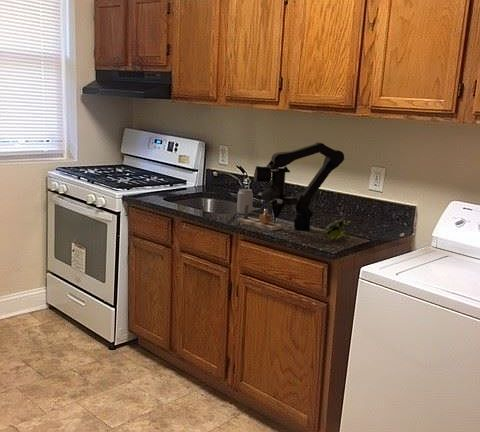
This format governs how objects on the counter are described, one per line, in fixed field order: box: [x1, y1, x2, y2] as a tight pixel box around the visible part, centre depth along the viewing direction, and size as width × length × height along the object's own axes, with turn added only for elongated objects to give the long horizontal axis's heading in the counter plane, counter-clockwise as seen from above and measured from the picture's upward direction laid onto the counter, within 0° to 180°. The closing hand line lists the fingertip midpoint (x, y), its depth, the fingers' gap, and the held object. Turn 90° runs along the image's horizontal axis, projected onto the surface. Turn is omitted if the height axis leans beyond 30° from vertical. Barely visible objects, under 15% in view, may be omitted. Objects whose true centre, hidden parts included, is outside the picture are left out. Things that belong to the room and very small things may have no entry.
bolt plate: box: [236, 204, 283, 232], centre depth 243 cm, size 21×7×8 cm, turn 46°
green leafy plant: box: [324, 216, 352, 242], centre depth 223 cm, size 11×11×12 cm
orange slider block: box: [259, 208, 273, 224], centre depth 241 cm, size 4×4×6 cm
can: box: [236, 188, 254, 215], centre depth 267 cm, size 8×8×12 cm
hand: (276, 217), depth 237 cm, fingers closed
